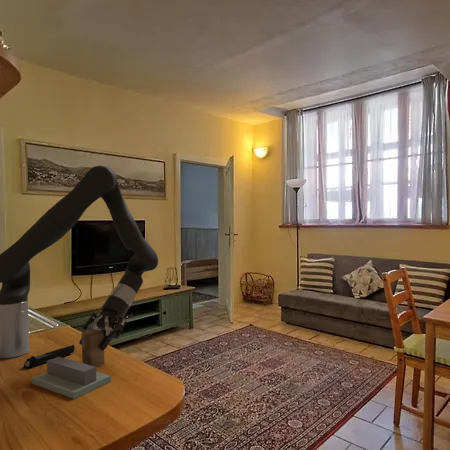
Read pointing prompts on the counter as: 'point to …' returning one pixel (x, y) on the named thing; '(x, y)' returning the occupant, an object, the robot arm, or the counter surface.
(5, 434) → the counter surface
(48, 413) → the counter surface
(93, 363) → the brown wooden block
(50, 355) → the electric trimmer
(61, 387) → the ridge board
